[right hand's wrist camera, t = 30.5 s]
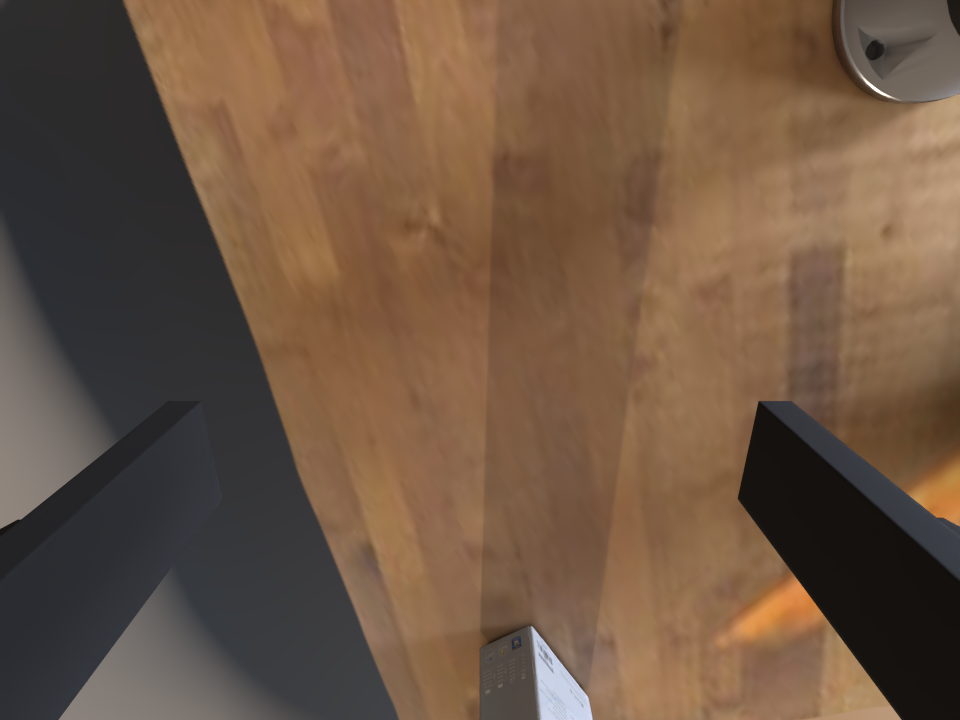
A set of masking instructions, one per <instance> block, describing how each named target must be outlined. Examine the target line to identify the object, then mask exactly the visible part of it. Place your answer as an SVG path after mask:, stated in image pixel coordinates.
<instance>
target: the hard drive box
mask: <svg viewBox="0 0 960 720" xmlns="http://www.w3.org/2000/svg"><path fill="white" fill-rule="evenodd" d="M480 720H593V718H592V713H591V708H590V703H589V698H588V697H587V695H586V694H585V693H584V692H583V690H582V689H581V688H580V686H579V685H578V684H577V682H576V681H575V680H574V679H573V677H572V676H571V675H570V674H569V673H568V671H567V670H566V669H565V667H564V666H563V665H562V664H561V662H560V661H559V660H558V659H557V657H556V656H555V655H554V653H553V652H552V651H551V650H550V648H549V646H548V645H547V644H546V643H545V642H544V640H543V639H542V638H541V637H540V636H539V634H538V633H537V632H536V631H535V629H534V628H533V627H532V626H530V627H529V626H527V627H525V628H523V629H520V630H518V631H516V632H514V633H512V634H510V635H507V636H505V637H503V638H501V639H499V640H497V641H494V642H492V643H490V644H488V645H486V646H484V647H481V648H480Z"/></svg>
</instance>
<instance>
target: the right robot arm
mask: <svg viewBox="0 0 960 720" xmlns="http://www.w3.org/2000/svg"><path fill="white" fill-rule="evenodd" d="M832 30H833V39H834V44H835V48H836V51H837V55H838V57H839V60H840V62H841V64H842V66H843V68H844V70H845V71H846V73H847V74H848V76H849V77H850V78H851V80H852V81H853V82H854V83H855V84H856V85H857V86H858V87H859V88H861V89H862V90H863V91H864V92H866V93H868V94H869V95H871V96H873V97H875V98H878V99H880V100H883V101H887V102H892V103H899V104H912V103H923V102H930V101H937V100H941V99H945V98H948V97H951V96H954V95H957V94H960V0H834V2H833V11H832ZM221 500H222V495H221V491H220V486H219V481H218V477H217V472H216V468H215V463H214V458H213V453H212V449H211V444H210V439H209V435H208V430H207V426H206V421H205V416H204V412H203V407H202V402H201V401H168V402H167V403H166V404H165V405H163V406H162V407H161V408H160V409H158V410H157V411H156V412H155V413H153V414H152V415H151V416H150V417H148V418H147V419H146V420H145V421H143V422H142V423H141V424H140V425H138V426H137V427H136V428H135V429H134V430H132V431H131V432H130V433H129V434H127V435H126V436H125V437H124V438H122V439H121V440H120V441H119V442H117V443H116V444H115V445H114V446H112V447H111V448H110V449H109V450H107V451H106V452H105V453H104V454H102V455H101V456H100V457H99V458H97V459H96V460H95V461H94V462H92V463H91V464H90V465H89V466H87V467H86V468H85V469H84V470H82V471H81V472H80V473H79V474H78V475H76V476H75V477H74V478H72V479H71V480H70V481H69V482H67V483H66V484H65V485H64V486H63V487H61V488H60V489H59V490H58V491H56V492H55V493H54V494H53V495H51V496H50V497H49V498H48V499H46V500H45V501H44V502H43V503H41V504H40V505H39V506H38V507H36V508H35V509H34V510H33V511H31V512H30V513H29V514H28V515H26V516H25V517H24V518H23V519H21V520H16V521H14V522H13V523H11V524H9V525H7V526H5V527H3V528H1V529H0V720H59V718H60V717H61V715H62V714H63V713H64V711H65V710H66V709H67V707H68V706H69V705H70V703H71V702H72V701H73V699H74V698H75V697H76V695H77V694H78V693H79V691H80V690H81V689H82V687H83V686H84V684H85V683H86V682H87V680H88V679H89V678H90V676H91V675H92V674H93V672H94V671H95V670H96V668H97V667H98V666H99V664H100V663H101V662H102V660H103V659H104V657H105V656H106V655H107V653H108V652H109V651H110V649H111V648H112V647H113V645H114V644H115V643H116V641H117V640H118V639H119V637H120V636H121V635H122V633H123V632H124V631H125V629H126V628H127V627H128V625H129V624H130V622H131V621H132V620H133V618H134V617H135V616H136V614H137V613H138V612H139V610H140V609H141V608H142V606H143V605H144V604H145V602H146V601H147V600H148V598H149V597H150V596H151V594H152V593H153V591H154V590H155V589H156V587H157V586H158V585H159V583H160V582H161V581H162V579H163V578H164V577H165V575H166V574H167V573H168V571H169V570H170V569H171V567H172V566H173V564H174V563H175V562H176V560H177V559H178V558H179V556H180V555H181V554H182V552H183V551H184V550H185V548H186V547H187V546H188V544H189V543H190V542H191V540H192V539H193V538H194V536H195V535H196V534H197V532H198V531H199V529H200V528H201V527H202V525H203V524H204V523H205V521H206V520H207V519H208V517H209V516H210V515H211V513H212V512H213V511H214V509H215V508H216V507H217V505H218V504H219V503H220V501H221ZM738 500H739V501H740V503H741V504H742V505H743V507H744V508H745V509H746V511H747V512H748V513H749V515H750V516H751V517H752V519H753V520H754V521H755V523H756V524H757V525H758V527H759V528H760V529H761V531H762V532H763V534H764V535H765V536H766V538H767V539H768V540H769V542H770V543H771V544H772V546H773V547H774V548H775V550H776V551H777V552H778V554H779V555H780V556H781V558H782V559H783V560H784V562H785V563H786V565H787V566H788V567H789V569H790V570H791V571H792V573H793V574H794V575H795V577H796V578H797V579H798V581H799V582H800V583H801V585H802V586H803V587H804V589H805V590H806V591H807V593H808V594H809V596H810V597H811V598H812V600H813V601H814V602H815V604H816V605H817V606H818V608H819V609H820V610H821V612H822V613H823V614H824V616H825V617H826V618H827V620H828V621H829V622H830V624H831V625H832V627H833V628H834V629H835V631H836V632H837V633H838V635H839V636H840V637H841V639H842V640H843V641H844V643H845V644H846V645H847V647H848V648H849V649H850V651H851V652H852V654H853V655H854V656H855V658H856V659H857V660H858V662H859V663H860V664H861V666H862V667H863V668H864V670H865V671H866V672H867V674H868V675H869V676H870V678H871V679H872V680H873V682H874V683H875V685H876V686H877V687H878V689H879V690H880V691H881V693H882V694H883V695H884V697H885V698H886V699H887V701H888V702H889V703H890V705H891V706H892V707H893V709H894V710H895V711H896V713H897V714H898V715H899V717H900V718H901V719H902V720H960V527H959V526H957V525H956V524H954V523H952V522H950V521H948V520H946V519H944V518H936V517H935V516H934V515H932V514H931V513H930V512H929V511H927V510H926V509H925V508H924V507H922V506H921V505H920V504H919V503H917V502H916V501H915V500H914V499H912V498H911V497H910V496H909V495H907V494H906V493H905V492H904V491H902V490H901V489H900V488H899V487H897V486H896V485H895V484H894V483H893V482H891V481H890V480H889V479H888V478H886V477H885V476H884V475H883V474H881V473H880V472H879V471H878V470H876V469H875V468H874V467H873V466H871V465H870V464H869V463H868V462H866V461H865V460H864V459H863V458H861V457H860V456H859V455H858V454H856V453H855V452H854V451H853V450H851V449H850V448H849V447H848V446H846V445H845V444H844V443H843V442H841V441H840V440H839V439H838V438H836V437H835V436H834V435H833V434H831V433H830V432H829V431H828V430H826V429H825V428H824V427H823V426H822V425H820V424H819V423H818V422H817V421H815V420H814V419H813V418H812V417H810V416H809V415H808V414H807V413H805V412H804V411H803V410H802V409H800V408H799V407H798V406H797V405H795V404H794V403H793V402H792V401H759V402H758V407H757V411H756V416H755V421H754V425H753V430H752V435H751V439H750V444H749V449H748V453H747V458H746V463H745V467H744V472H743V477H742V481H741V486H740V491H739V495H738Z"/></svg>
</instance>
